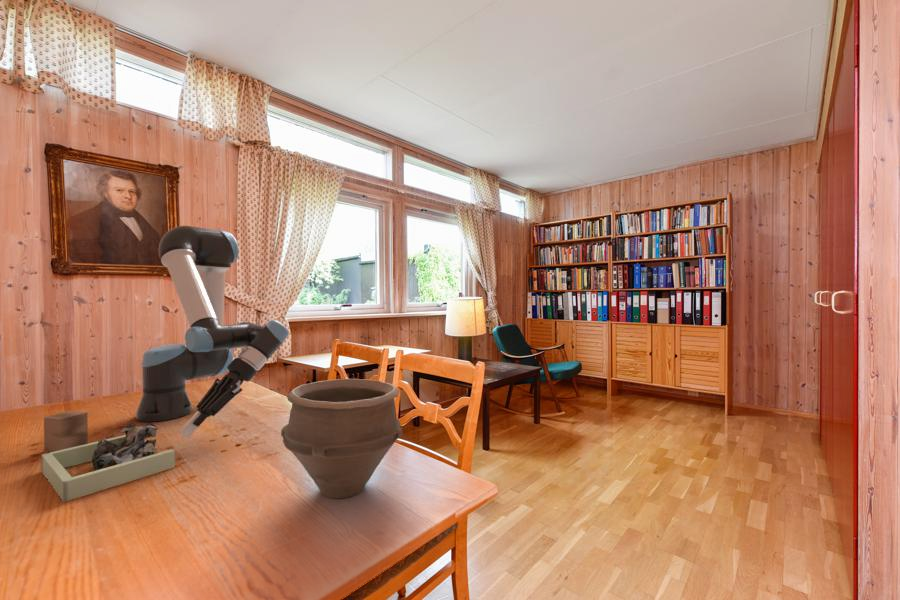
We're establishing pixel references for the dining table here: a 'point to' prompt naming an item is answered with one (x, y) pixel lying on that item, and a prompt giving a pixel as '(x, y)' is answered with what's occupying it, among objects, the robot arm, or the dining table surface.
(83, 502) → the dining table surface
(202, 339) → the robot arm
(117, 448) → the grey crumpled lump
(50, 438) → the walnut block
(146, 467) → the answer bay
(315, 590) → the dining table surface
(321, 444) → the planter
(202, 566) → the dining table surface
